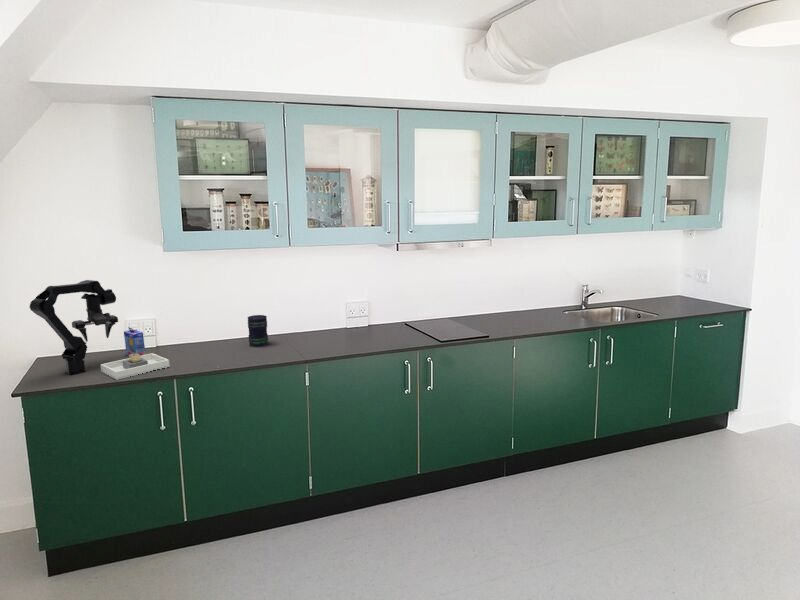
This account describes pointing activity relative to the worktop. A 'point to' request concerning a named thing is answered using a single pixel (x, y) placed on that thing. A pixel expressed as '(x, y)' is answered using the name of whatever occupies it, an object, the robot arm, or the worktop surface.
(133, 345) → the ink cartridge box
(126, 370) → the walled box
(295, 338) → the worktop surface
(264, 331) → the storage jar
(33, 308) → the robot arm
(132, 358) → the peg
